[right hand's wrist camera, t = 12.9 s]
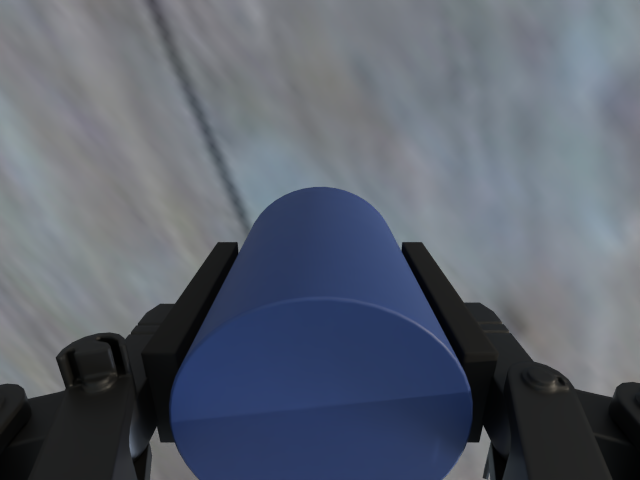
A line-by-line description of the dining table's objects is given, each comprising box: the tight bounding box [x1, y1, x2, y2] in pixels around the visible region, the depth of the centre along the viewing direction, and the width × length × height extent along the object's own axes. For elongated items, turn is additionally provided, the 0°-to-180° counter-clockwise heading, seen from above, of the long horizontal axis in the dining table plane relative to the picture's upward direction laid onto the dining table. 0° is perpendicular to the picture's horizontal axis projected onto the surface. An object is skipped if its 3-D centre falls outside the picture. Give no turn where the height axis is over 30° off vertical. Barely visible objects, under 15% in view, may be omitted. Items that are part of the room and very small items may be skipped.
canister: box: [169, 187, 473, 480], centre depth 12 cm, size 6×6×9 cm
